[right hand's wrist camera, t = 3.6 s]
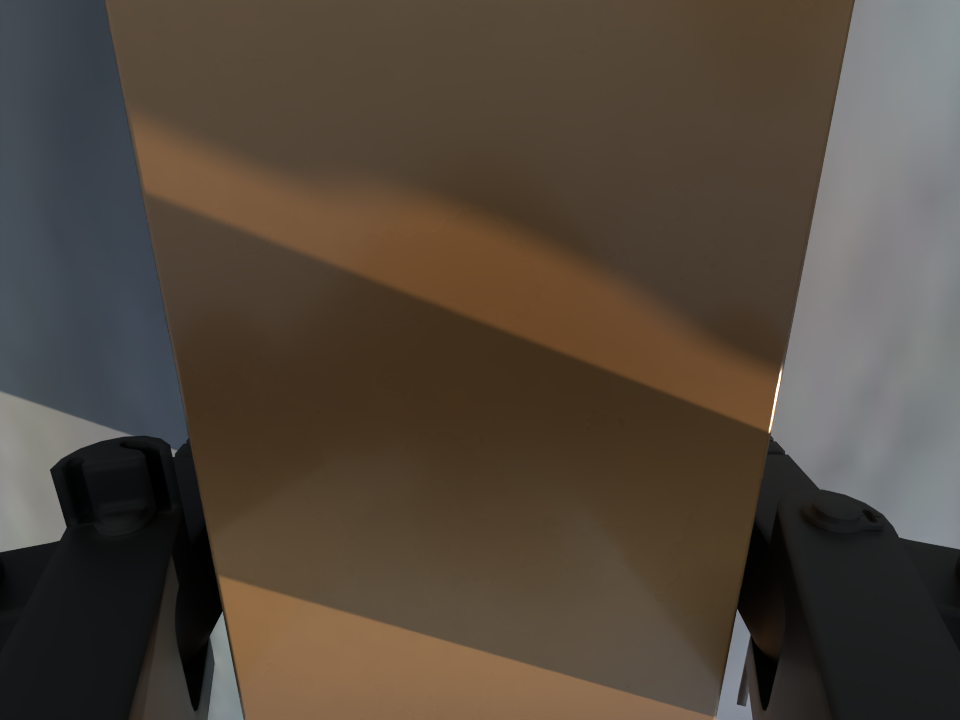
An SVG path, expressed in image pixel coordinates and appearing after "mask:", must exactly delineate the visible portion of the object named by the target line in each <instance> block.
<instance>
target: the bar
mask: <svg viewBox="0 0 960 720" xmlns="http://www.w3.org/2000/svg"><path fill="white" fill-rule="evenodd" d="M104 1H105V7H106V12H107V17H108V22H109V27H110V32H111V37H112V43H113V48H114V53H115V58H116V63H117V68H118V74H119V79H120V84H121V89H122V94H123V99H124V105H125V110H126V115H127V120H128V125H129V130H130V135H131V141H132V146H133V151H134V156H135V161H136V166H137V172H138V177H139V182H140V187H141V192H142V197H143V203H144V208H145V213H146V218H147V223H148V228H149V233H150V239H151V244H152V249H153V254H154V259H155V264H156V270H157V275H158V280H159V285H160V290H161V295H162V301H163V306H164V311H165V316H166V321H167V326H168V331H169V337H170V342H171V347H172V352H173V357H174V362H175V368H176V373H177V378H178V383H179V388H180V393H181V399H182V404H183V409H184V414H185V419H186V424H187V430H188V435H189V440H190V445H191V450H192V455H193V460H194V466H195V471H196V476H197V481H198V486H199V491H200V497H201V502H202V507H203V512H204V517H205V522H206V528H207V533H208V538H209V543H210V548H211V553H212V558H213V564H214V569H215V574H216V579H217V584H218V589H219V595H220V600H221V605H222V610H223V615H224V620H225V626H226V631H227V636H228V641H229V646H230V651H231V656H232V662H233V667H234V672H235V677H236V682H237V687H238V693H239V698H240V703H241V708H242V713H243V718H244V720H716V715H717V710H718V705H719V700H720V694H721V689H722V684H723V679H724V674H725V669H726V663H727V658H728V653H729V648H730V643H731V638H732V632H733V627H734V622H735V617H736V612H737V607H738V601H739V596H740V591H741V586H742V581H743V575H744V570H745V565H746V560H747V555H748V550H749V544H750V539H751V534H752V529H753V524H754V519H755V513H756V508H757V503H758V498H759V493H760V488H761V482H762V477H763V472H764V467H765V462H766V456H767V451H768V446H769V441H770V436H771V431H772V425H773V420H774V415H775V410H776V405H777V400H778V394H779V389H780V384H781V379H782V374H783V369H784V363H785V358H786V353H787V348H788V343H789V337H790V332H791V327H792V322H793V317H794V312H795V306H796V301H797V296H798V291H799V286H800V281H801V275H802V270H803V265H804V260H805V255H806V250H807V244H808V239H809V234H810V229H811V224H812V218H813V213H814V208H815V203H816V198H817V193H818V187H819V182H820V177H821V172H822V167H823V162H824V156H825V151H826V146H827V141H828V136H829V130H830V125H831V120H832V115H833V110H834V105H835V99H836V94H837V89H838V84H839V79H840V74H841V68H842V63H843V58H844V53H845V48H846V43H847V37H848V32H849V27H850V22H851V17H852V11H853V6H854V1H855V0H104Z"/></svg>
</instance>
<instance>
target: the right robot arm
mask: <svg viewBox="0 0 960 720" xmlns="http://www.w3.org/2000/svg"><path fill="white" fill-rule="evenodd" d="M50 471H51V475H52V478H53V482H54V485H55V489H56V492H57V495H58V499H59V502H60V506H61V509H62V512H63V516H64V519H65V523H66V526H67V528H66V530H65V532H64V534H63V536H62V538H61V540H60V541H57V542H53V543H47V544H42V545H37V546H32V547H26V548H21V549H16V550H11V551H5V552H0V720H207V719H208V711H209V703H210V695H211V688H212V680H213V672H214V664H215V663H214V656H213V650H212V645H211V640H210V634H211V633H212V631H213V629H214V627H215V625H216V623H217V621H218V619H219V617H220V615H221V613H222V611H223V610H222V605H221V600H220V595H219V589H218V584H217V579H216V574H215V569H214V564H213V558H212V553H211V548H210V543H209V538H208V533H207V528H206V522H205V517H204V512H203V507H202V502H201V497H200V491H199V486H198V481H197V476H196V471H195V466H194V460H193V455H192V450H191V445H190V440H189V439H188V440H187V443H186V444H183V445H182V446H181V448H180V449H179V450H178V451H177V452H176V453H175V457H172V452H171V447H170V445H169V444H168V443H166V442H165V441H163V440H162V439H160V438H154V437H148V436H129V437H120V438H115V439H110V440H105V441H101V442H98V443H95V444H92V445H89V446H86V447H83V448H81V449H79V450H77V451H75V452H73V453H71V454H69V455H68V456H66V457H64V458H62V459H61V460H60V461H59V462H58V463H57V464H56V465H55V466H53V467H52V468H51V469H50ZM737 609H738V611H739V613H740V615H741V617H742V619H743V620H744V622H745V624H746V626H747V628H748V630H749V632H750V634H751V635H750V640H749V645H748V650H747V655H746V659H745V664H744V669H743V674H742V679H741V683H740V688H739V694H738V700H737V705H742V706H746V702H747V697H748V693H749V694H750V702H751V709H752V717H753V720H960V549H954V548H949V547H944V546H938V545H933V544H928V543H922V542H917V541H912V540H907V539H903V538H899V537H898V535H897V533H896V531H895V529H894V527H893V526H892V525H891V524H890V522H889V521H888V520H887V519H886V518H885V517H884V515H883V514H881V513H880V512H878V511H877V510H875V509H874V508H872V507H870V506H869V505H867V504H866V503H864V502H861V501H859V500H856V499H854V498H851V497H849V496H847V495H844V494H839V493H835V492H831V491H826V490H820V489H819V488H818V487H817V486H816V485H815V484H814V483H813V482H812V481H811V480H810V478H809V477H808V476H807V475H806V474H805V473H804V472H803V471H802V470H801V468H800V467H799V466H798V465H797V464H796V463H795V462H794V461H793V460H792V459H791V457H790V456H789V455H785V451H784V450H783V449H782V448H781V446H780V445H779V444H778V443H777V442H774V441H773V438H772V436H770V441H769V446H768V451H767V456H766V462H765V467H764V472H763V477H762V482H761V488H760V493H759V498H758V503H757V508H756V513H755V519H754V524H753V529H752V534H751V539H750V544H749V550H748V555H747V560H746V565H745V570H744V575H743V581H742V586H741V591H740V596H739V601H738V607H737ZM732 633H733V632H732Z"/></svg>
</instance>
